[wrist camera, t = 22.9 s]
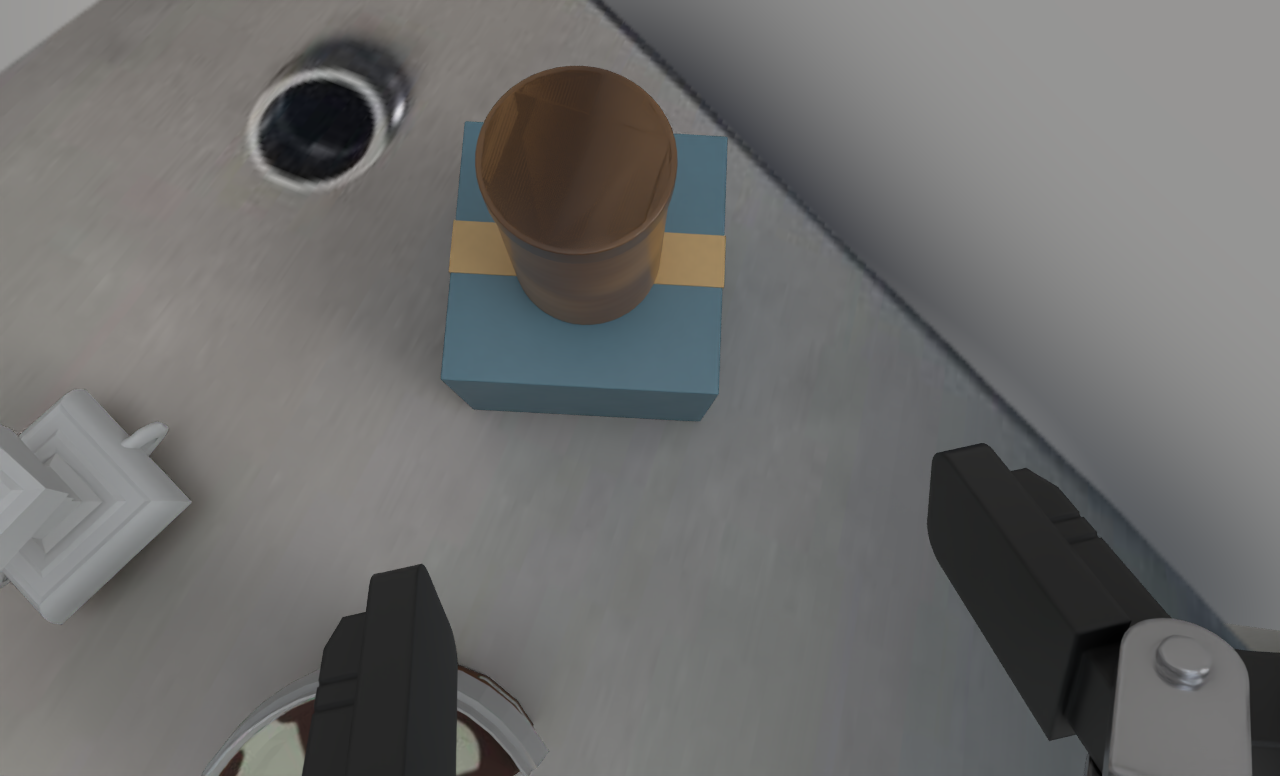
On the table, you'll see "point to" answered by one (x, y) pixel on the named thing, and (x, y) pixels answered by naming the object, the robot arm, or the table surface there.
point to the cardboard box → (601, 353)
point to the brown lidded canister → (579, 189)
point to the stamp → (78, 502)
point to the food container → (486, 732)
